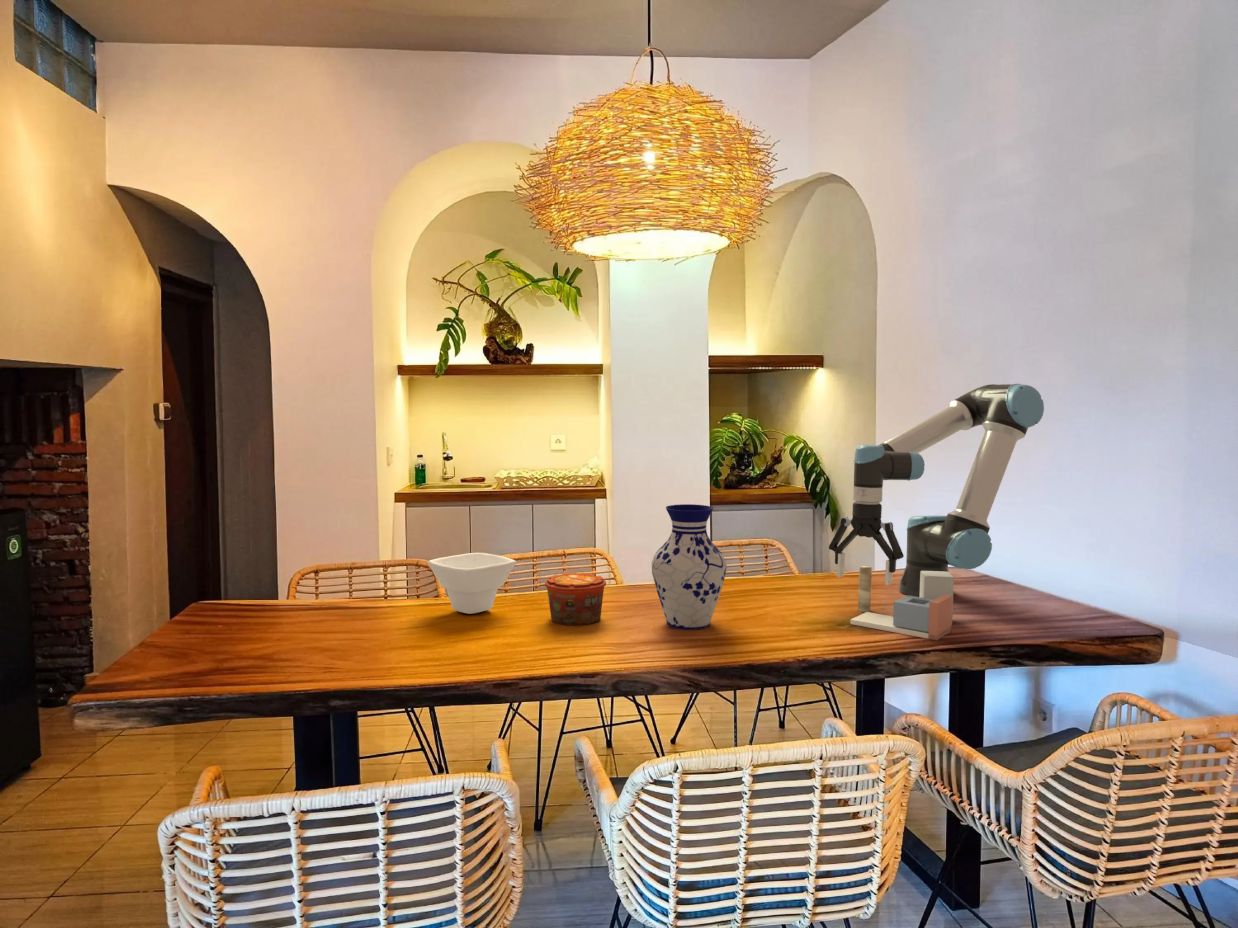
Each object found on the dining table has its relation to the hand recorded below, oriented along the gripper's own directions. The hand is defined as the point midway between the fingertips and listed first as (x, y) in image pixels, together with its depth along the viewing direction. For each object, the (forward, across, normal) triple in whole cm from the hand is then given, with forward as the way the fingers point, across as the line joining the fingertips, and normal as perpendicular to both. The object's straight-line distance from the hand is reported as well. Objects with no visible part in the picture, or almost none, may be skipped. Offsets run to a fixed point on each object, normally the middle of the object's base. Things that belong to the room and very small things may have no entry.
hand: (864, 580), depth 232 cm
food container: (+10, -53, -57) cm, 79 cm away
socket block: (+7, +19, -10) cm, 22 cm away
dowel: (+8, 0, 0) cm, 8 cm away
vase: (+9, -28, -42) cm, 51 cm away
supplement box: (+8, +19, +2) cm, 21 cm away
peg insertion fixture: (+8, +14, -10) cm, 19 cm away
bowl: (+10, -79, -70) cm, 106 cm away
